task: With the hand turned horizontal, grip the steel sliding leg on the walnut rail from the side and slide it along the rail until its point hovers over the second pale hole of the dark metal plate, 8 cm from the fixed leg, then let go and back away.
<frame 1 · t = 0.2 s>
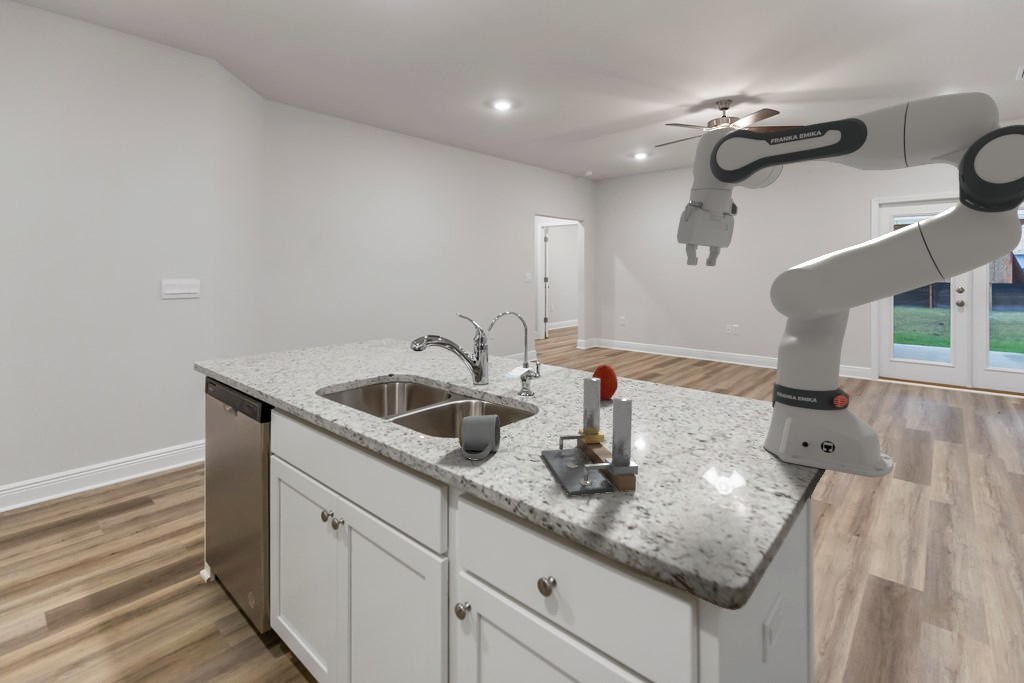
hand: (701, 265, 115), 39 cm above the worktop, tool pointing down, fingers open, 8 cm apart
ceramic mug: (480, 452, 105), on the worktop
red egg shape: (603, 399, 150), on the worktop
fixed leg: (620, 483, 88), resting on hole plate
sliding leg: (580, 414, 102), point 9 cm above the worktop, slide at 0.0 cm
rail: (602, 465, 97), on the worktop
hole plate: (574, 471, 94), on the worktop
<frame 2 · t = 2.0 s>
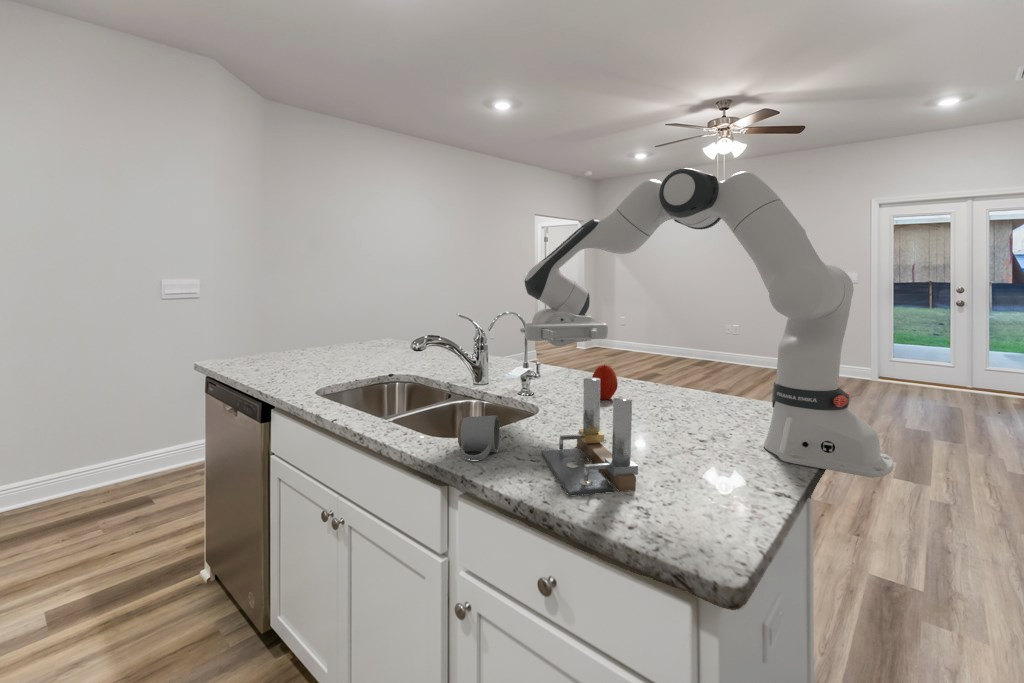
hand: (574, 335, 113), 24 cm above the worktop, tool horizontal, fingers open, 8 cm apart
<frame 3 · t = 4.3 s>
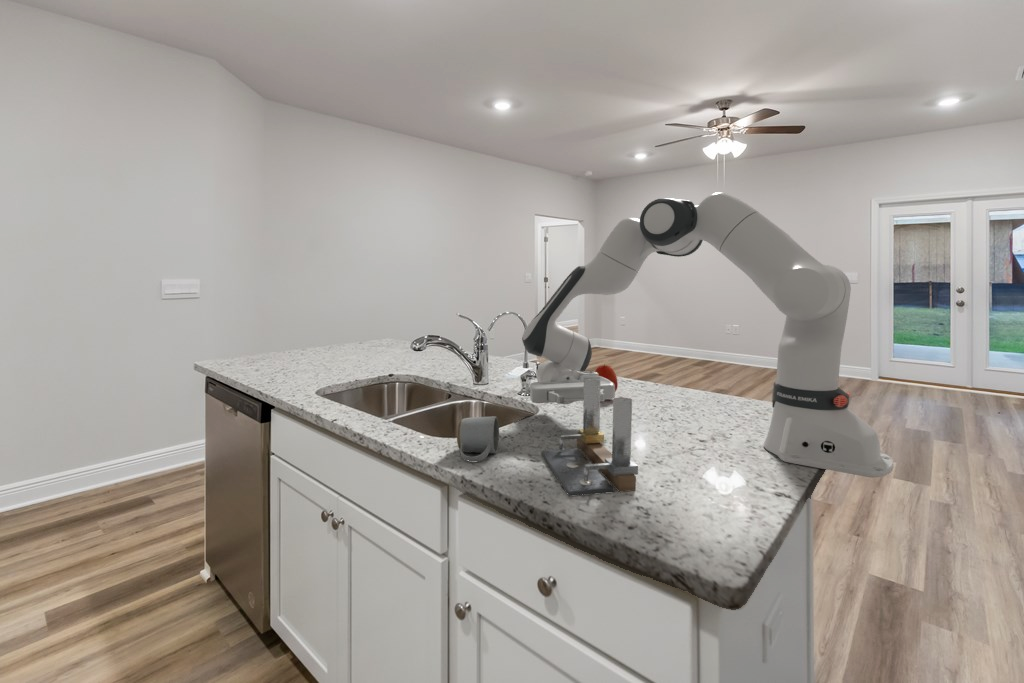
hand: (581, 398, 110), 10 cm above the worktop, tool horizontal, fingers open, 8 cm apart
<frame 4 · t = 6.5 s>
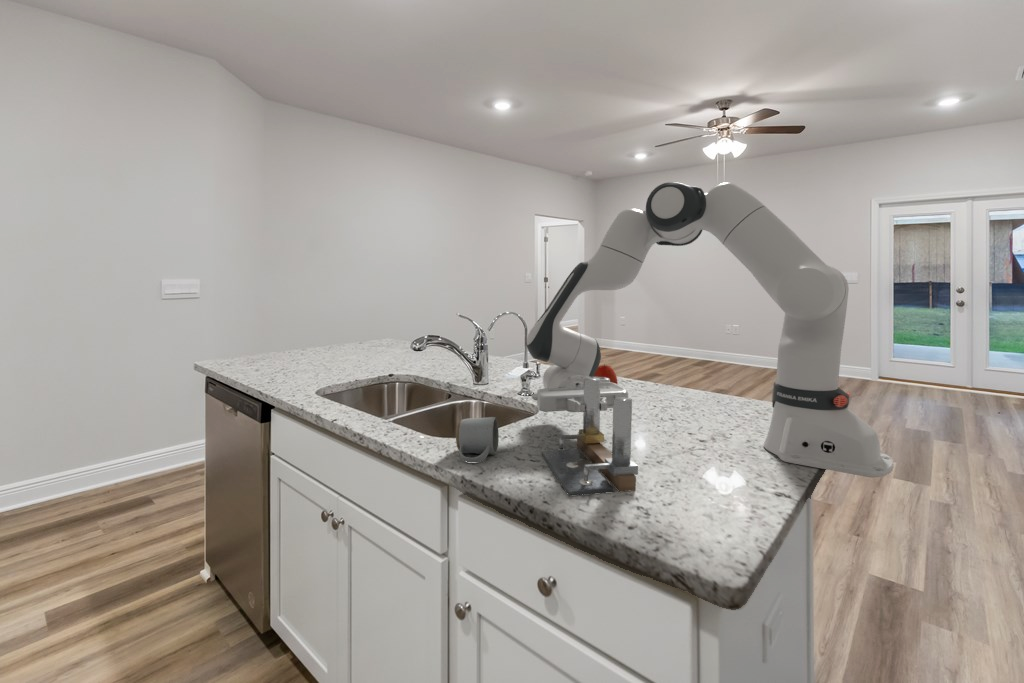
hand: (593, 407, 102), 10 cm above the worktop, tool horizontal, fingers closed on sliding leg, 3 cm apart
sliding leg: (580, 414, 102), point 9 cm above the worktop, slide at 0.0 cm, touching gripper
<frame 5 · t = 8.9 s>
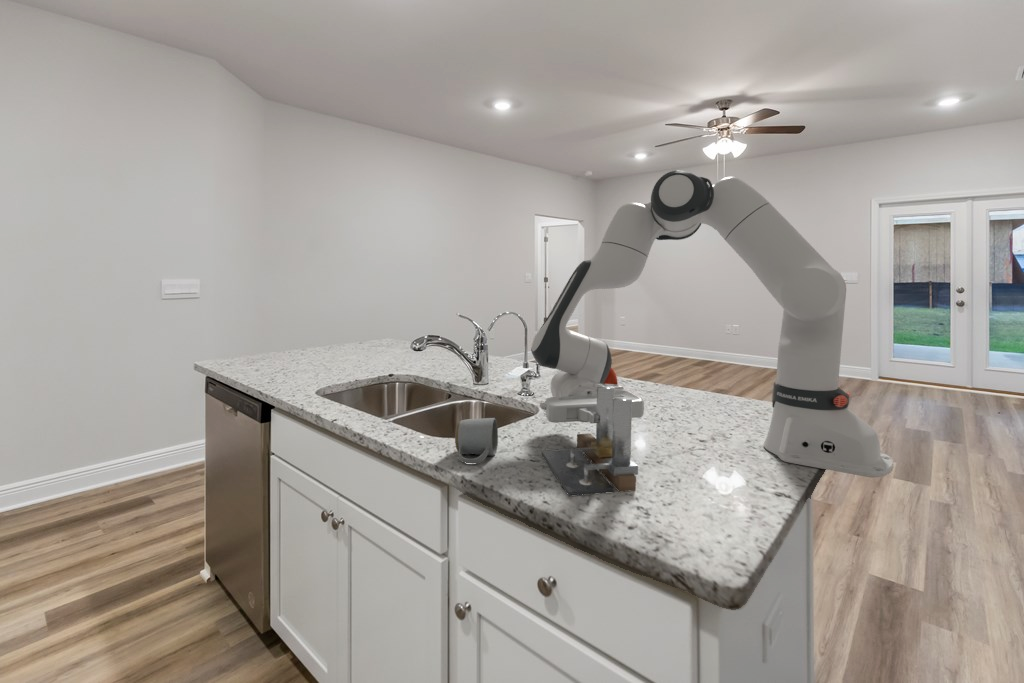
hand: (607, 418, 94), 10 cm above the worktop, tool horizontal, fingers closed on sliding leg, 3 cm apart
sliding leg: (593, 425, 95), point 9 cm above the worktop, slide at 8.0 cm, touching gripper
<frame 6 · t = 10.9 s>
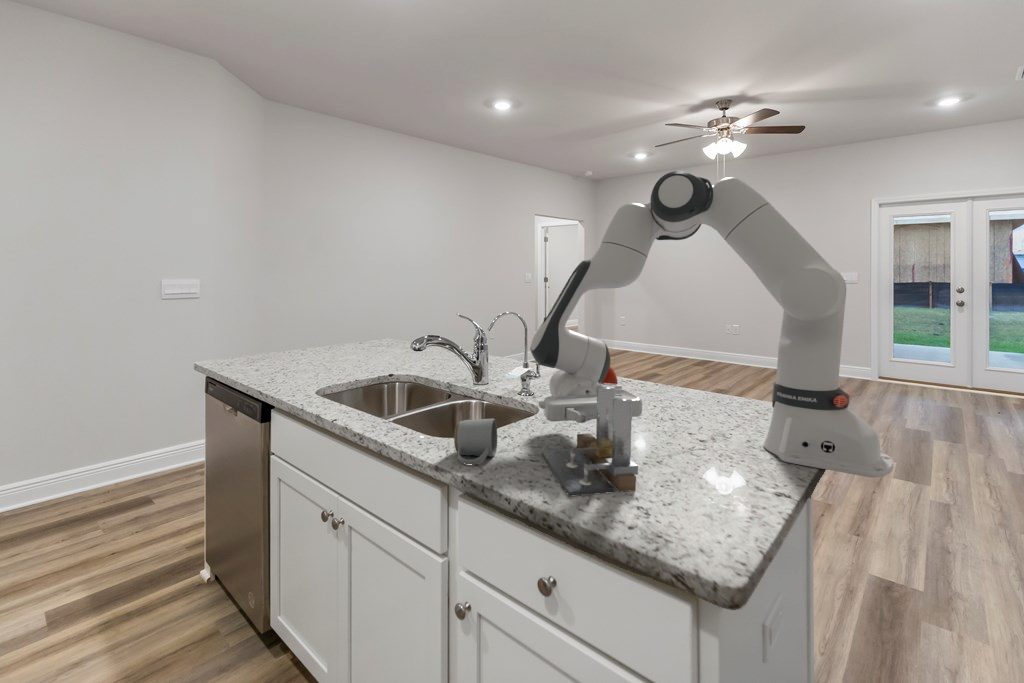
hand: (605, 417, 94), 10 cm above the worktop, tool horizontal, fingers open, 8 cm apart
sliding leg: (593, 425, 95), point 9 cm above the worktop, slide at 8.0 cm
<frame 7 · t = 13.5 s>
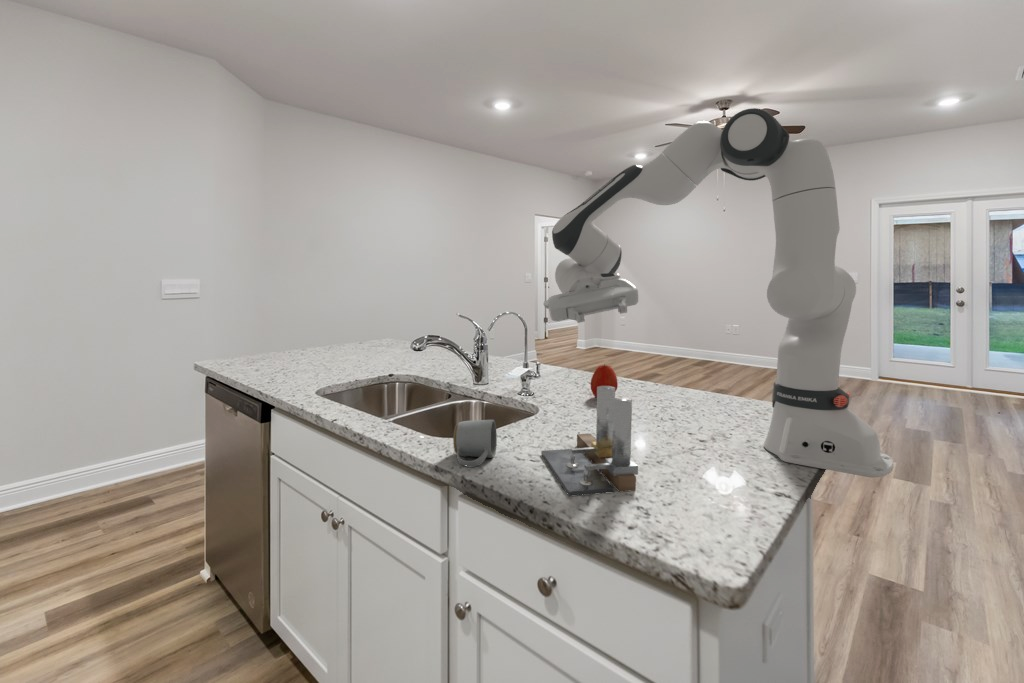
hand: (602, 314, 105), 29 cm above the worktop, tool tilted 70°, fingers open, 8 cm apart
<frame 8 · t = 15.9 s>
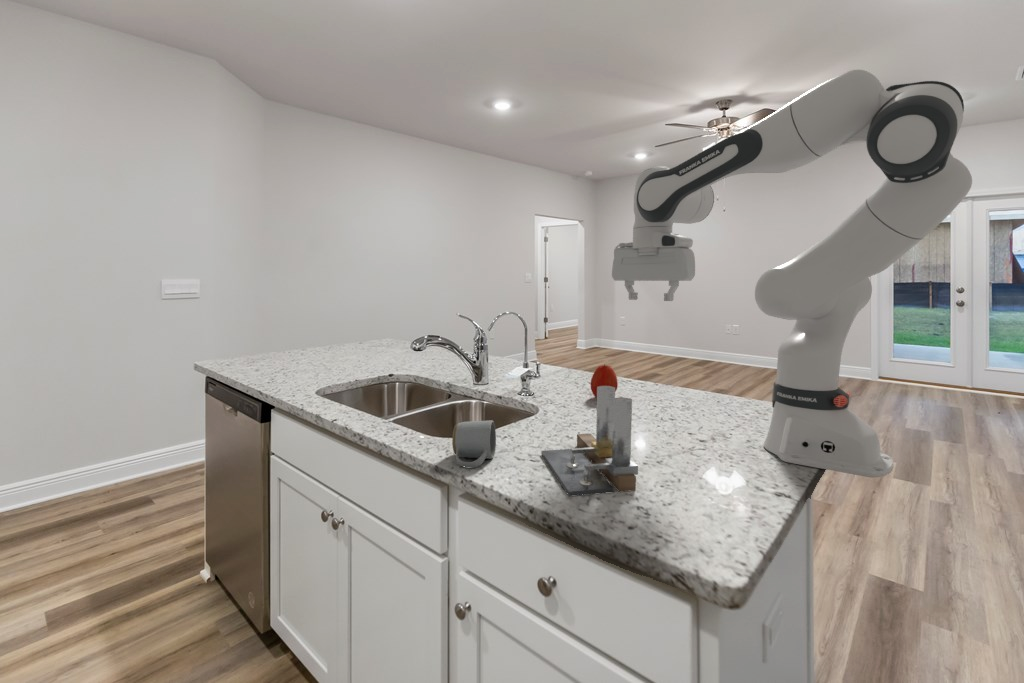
hand: (650, 300, 117), 31 cm above the worktop, tool pointing down, fingers open, 8 cm apart
at the end: sliding leg slide at 8.0 cm; the gripper is holding nothing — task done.
